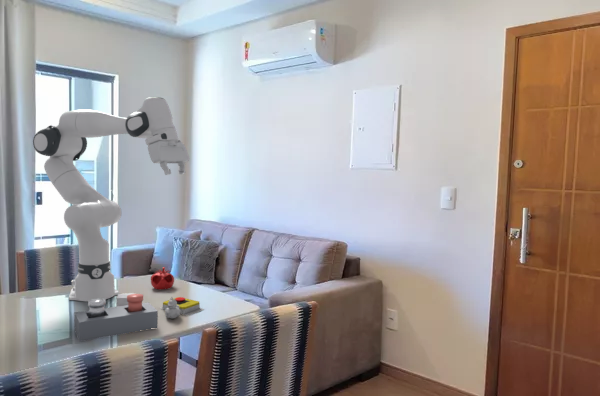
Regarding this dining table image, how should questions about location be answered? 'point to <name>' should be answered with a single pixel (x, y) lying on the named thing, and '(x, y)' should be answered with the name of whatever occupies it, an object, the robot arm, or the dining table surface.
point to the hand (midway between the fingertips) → (175, 174)
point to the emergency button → (185, 306)
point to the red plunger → (134, 302)
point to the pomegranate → (162, 280)
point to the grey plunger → (96, 307)
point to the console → (114, 322)
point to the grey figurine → (172, 309)
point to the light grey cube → (122, 299)
